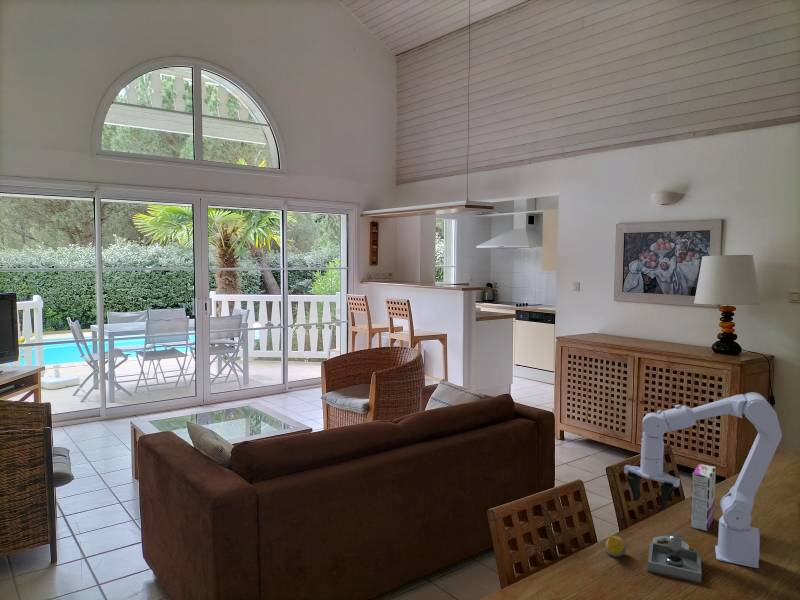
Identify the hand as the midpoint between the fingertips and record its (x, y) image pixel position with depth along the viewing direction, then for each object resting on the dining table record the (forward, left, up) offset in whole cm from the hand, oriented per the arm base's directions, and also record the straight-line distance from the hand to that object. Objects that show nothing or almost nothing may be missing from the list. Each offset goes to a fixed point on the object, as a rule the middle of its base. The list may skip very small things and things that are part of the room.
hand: (649, 504), depth 161 cm
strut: (-7, +12, -10) cm, 17 cm away
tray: (-7, +12, -11) cm, 17 cm away
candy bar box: (-14, -20, -11) cm, 27 cm away
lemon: (+7, +13, -11) cm, 19 cm away
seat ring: (-6, +1, -11) cm, 12 cm away
